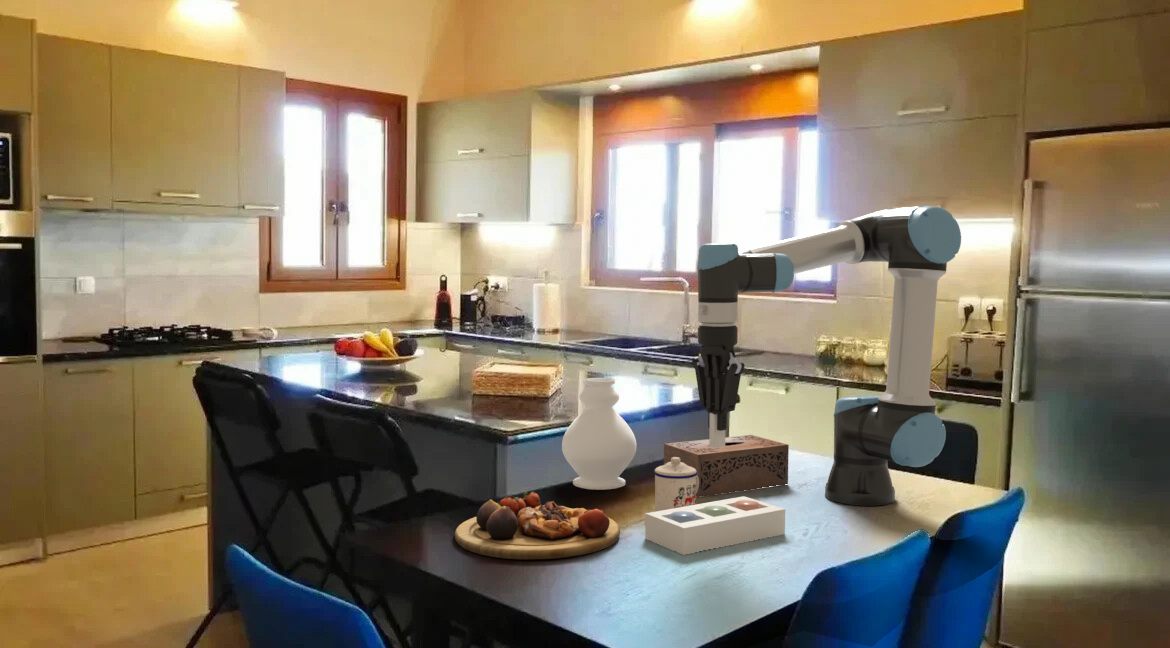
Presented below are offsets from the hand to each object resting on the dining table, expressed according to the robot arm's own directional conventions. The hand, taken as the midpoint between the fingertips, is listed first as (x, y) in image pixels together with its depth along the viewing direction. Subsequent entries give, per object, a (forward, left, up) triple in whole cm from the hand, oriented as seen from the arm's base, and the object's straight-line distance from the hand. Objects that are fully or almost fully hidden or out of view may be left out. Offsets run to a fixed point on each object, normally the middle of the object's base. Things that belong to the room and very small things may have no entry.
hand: (717, 446), depth 187 cm
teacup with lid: (-6, -19, -18) cm, 27 cm away
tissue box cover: (-30, -32, -18) cm, 47 cm away
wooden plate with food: (+29, -19, -18) cm, 39 cm away
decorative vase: (-5, -49, -18) cm, 52 cm away
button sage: (0, 0, -16) cm, 16 cm away
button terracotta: (-8, 0, -16) cm, 18 cm away
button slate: (+8, 0, -16) cm, 18 cm away
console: (0, 0, -18) cm, 18 cm away
